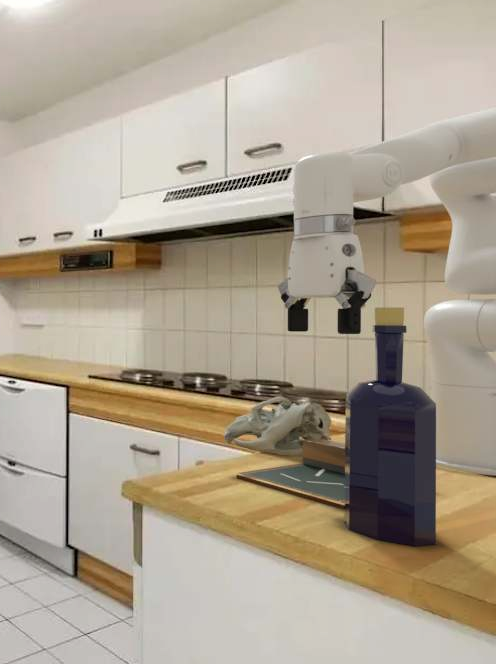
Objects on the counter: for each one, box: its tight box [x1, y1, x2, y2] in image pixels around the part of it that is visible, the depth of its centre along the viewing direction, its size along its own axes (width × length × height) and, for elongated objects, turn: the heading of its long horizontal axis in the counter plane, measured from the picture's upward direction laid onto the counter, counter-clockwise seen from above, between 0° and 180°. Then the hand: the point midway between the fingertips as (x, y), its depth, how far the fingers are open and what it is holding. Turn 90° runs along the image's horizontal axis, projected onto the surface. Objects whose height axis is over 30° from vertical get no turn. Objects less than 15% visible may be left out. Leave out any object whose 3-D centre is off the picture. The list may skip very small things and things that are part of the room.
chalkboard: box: [236, 462, 345, 511], centre depth 92 cm, size 22×16×1 cm
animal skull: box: [223, 396, 332, 457], centre depth 113 cm, size 18×12×13 cm
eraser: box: [302, 438, 345, 474], centre depth 98 cm, size 4×9×4 cm, turn 20°
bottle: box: [343, 307, 438, 547], centre depth 73 cm, size 9×9×30 cm
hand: (322, 332), depth 91 cm, fingers open, 9 cm apart
